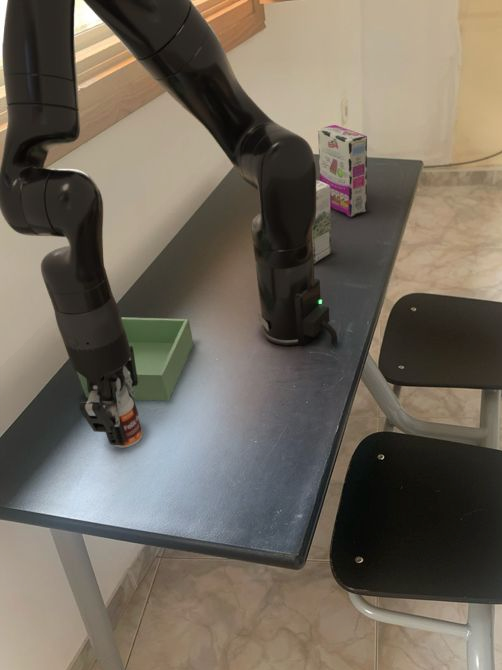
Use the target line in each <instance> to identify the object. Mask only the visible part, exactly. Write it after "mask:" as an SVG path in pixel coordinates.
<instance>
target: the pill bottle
mask: <svg viewBox="0 0 502 670" xmlns="http://www.w3.org/2000/svg"><path fill="white" fill-rule="evenodd" d="M120 397H121V405H122V407H121V408H120V409H119V418H120V423H121V425H122V428H123V431H124V434H125V438H126V442H125V444H124V445H123V446H121V445H113V447H117V448H120V449H123V448H129V447H133V446H134V445H136V444H137V443H139V441H140V440H141V439H142V438H143V435H144V434H143V433H144V432H143V429H142V425H141V421H140V418H139V414H138V415H137V411H138V410H137V411H136V408H137V407H136V408H135V405H136V403H135V404H134V401H135V400H134V401H133V399H132V398H131V397H130V396H129V393H128V390H127V388H126V386H123V387H122V389H121V391H120ZM100 401H101V400H100ZM101 402H102V403H104V404H114V402H113V401H101ZM106 412H107V414H108V416H109V417H110V418H112V413H111V412H109V411H106Z"/></svg>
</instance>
